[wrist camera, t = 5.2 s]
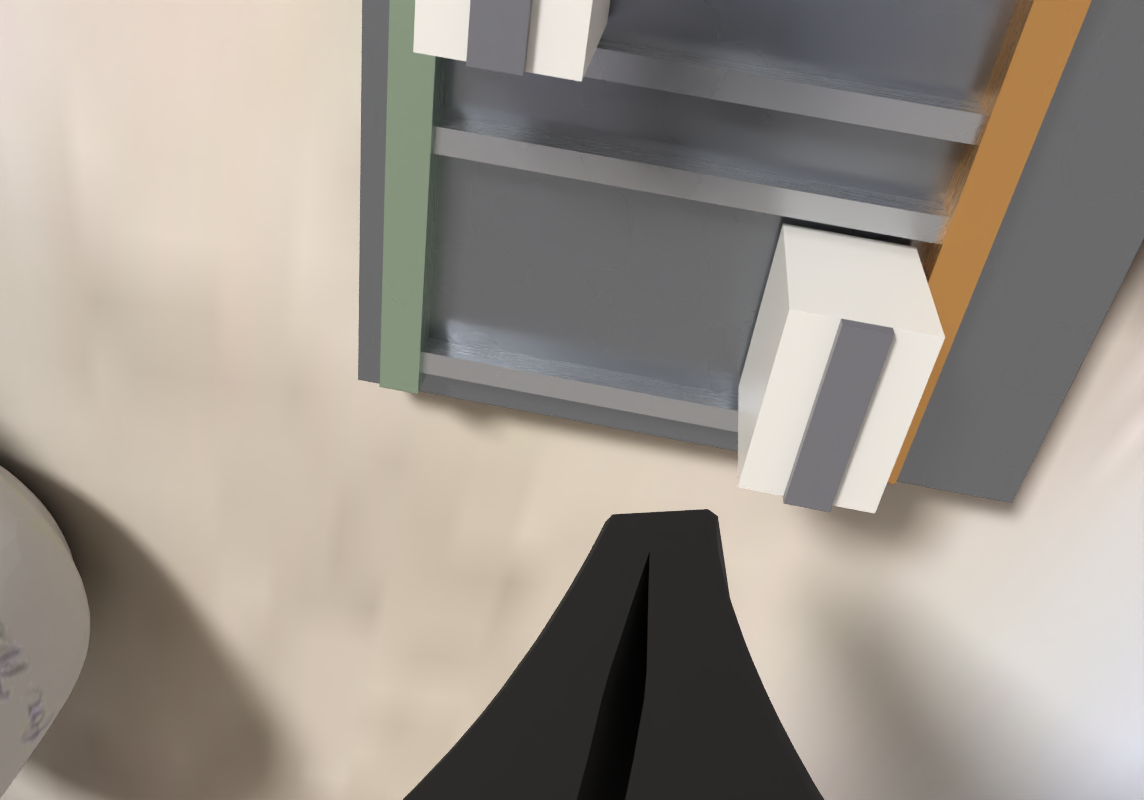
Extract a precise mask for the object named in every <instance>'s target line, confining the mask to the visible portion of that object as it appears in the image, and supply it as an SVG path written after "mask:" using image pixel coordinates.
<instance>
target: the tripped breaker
mask: <svg viewBox="0 0 1144 800" xmlns="http://www.w3.org/2000/svg"><path fill="white" fill-rule="evenodd" d="M944 339H945V335H944V332H943V329H942V326H941V323H940V320H939V317H938V314H937V311H936V307H935V304H934V301H933V298H932V295H931V292H930V289H929V286H928V283H927V280H926V276H925V273H924V270H923V267H922V264H921V261H920V258H919V255H918V252H917V248H916V247H913V246H907V245H902V244H896V243H891V242H885V241H879V240H874V239H868V238H863V237H857V236H851V235H846V234H840V233H835V232H829V231H824V230H818V229H812V228H807V227H801V226H796V225H790V224H785V223H783V225H782V229H781V232H780V236H779V240H778V243H777V247H776V251H775V255H774V258H773V262H772V266H771V269H770V273H769V277H768V280H767V284H766V288H765V291H764V295H763V299H762V302H761V306H760V310H759V313H758V317H757V321H756V325H755V328H754V332H753V336H752V339H751V343H750V347H749V350H748V354H747V358H746V361H745V365H744V369H743V372H742V376H741V380H740V383H739V387H738V488H743V489H749V490H754V491H759V492H764V493H770V494H775V495H780V496H783V502H784V504H789V505H794V506H800V507H805V508H810V509H815V510H821V511H826V512H830V510H831V507H832V505H833V506H838V507H843V508H848V509H854V510H859V511H864V512H869V513H875V512H876V509H877V507H878V504H879V502H880V499H881V497H882V494H883V492H884V489H885V487H886V484H887V482H888V479H889V477H890V474H891V472H892V469H893V467H894V464H895V462H896V459H897V457H898V454H899V452H900V449H901V447H902V444H903V442H904V439H905V437H906V434H907V432H908V429H909V427H910V424H911V422H912V419H913V417H914V414H915V412H916V409H917V407H918V404H919V402H920V399H921V397H922V394H923V392H924V389H925V387H926V384H927V382H928V379H929V377H930V374H931V372H932V369H933V367H934V364H935V362H936V359H937V357H938V354H939V352H940V349H941V347H942V344H943V342H944Z"/></svg>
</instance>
